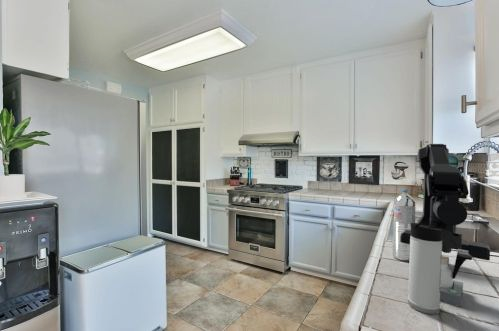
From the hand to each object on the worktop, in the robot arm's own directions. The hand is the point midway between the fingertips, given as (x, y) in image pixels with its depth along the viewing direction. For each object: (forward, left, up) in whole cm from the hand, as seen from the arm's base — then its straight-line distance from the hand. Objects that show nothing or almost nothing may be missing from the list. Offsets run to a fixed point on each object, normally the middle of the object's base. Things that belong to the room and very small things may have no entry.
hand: (440, 275), depth 69 cm
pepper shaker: (0, 0, -5) cm, 5 cm away
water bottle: (-21, -13, -5) cm, 25 cm away
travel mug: (+12, -2, -5) cm, 14 cm away
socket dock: (+1, 0, -5) cm, 5 cm away
